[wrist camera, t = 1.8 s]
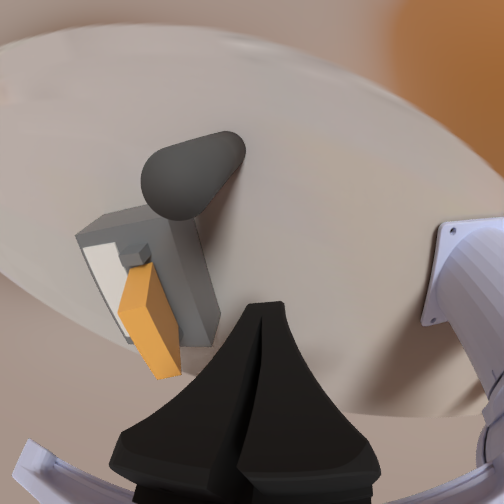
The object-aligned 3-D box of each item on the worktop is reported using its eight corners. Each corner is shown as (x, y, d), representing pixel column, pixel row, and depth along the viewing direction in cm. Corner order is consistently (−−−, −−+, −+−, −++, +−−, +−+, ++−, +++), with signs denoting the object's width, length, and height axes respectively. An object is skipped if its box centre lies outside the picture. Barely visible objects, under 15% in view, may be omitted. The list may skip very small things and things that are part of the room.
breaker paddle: (152, 262, 12) (145, 305, 9) (178, 325, 14) (181, 374, 11) (130, 268, 12) (117, 313, 9) (157, 330, 14) (157, 379, 11)
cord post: (241, 127, 12) (203, 138, 6) (248, 166, 13) (220, 215, 7) (202, 135, 12) (132, 157, 6) (210, 173, 13) (152, 226, 7)
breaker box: (187, 196, 14) (157, 225, 11) (221, 313, 18) (208, 359, 14) (102, 214, 15) (64, 243, 11) (144, 315, 19) (122, 354, 15)
